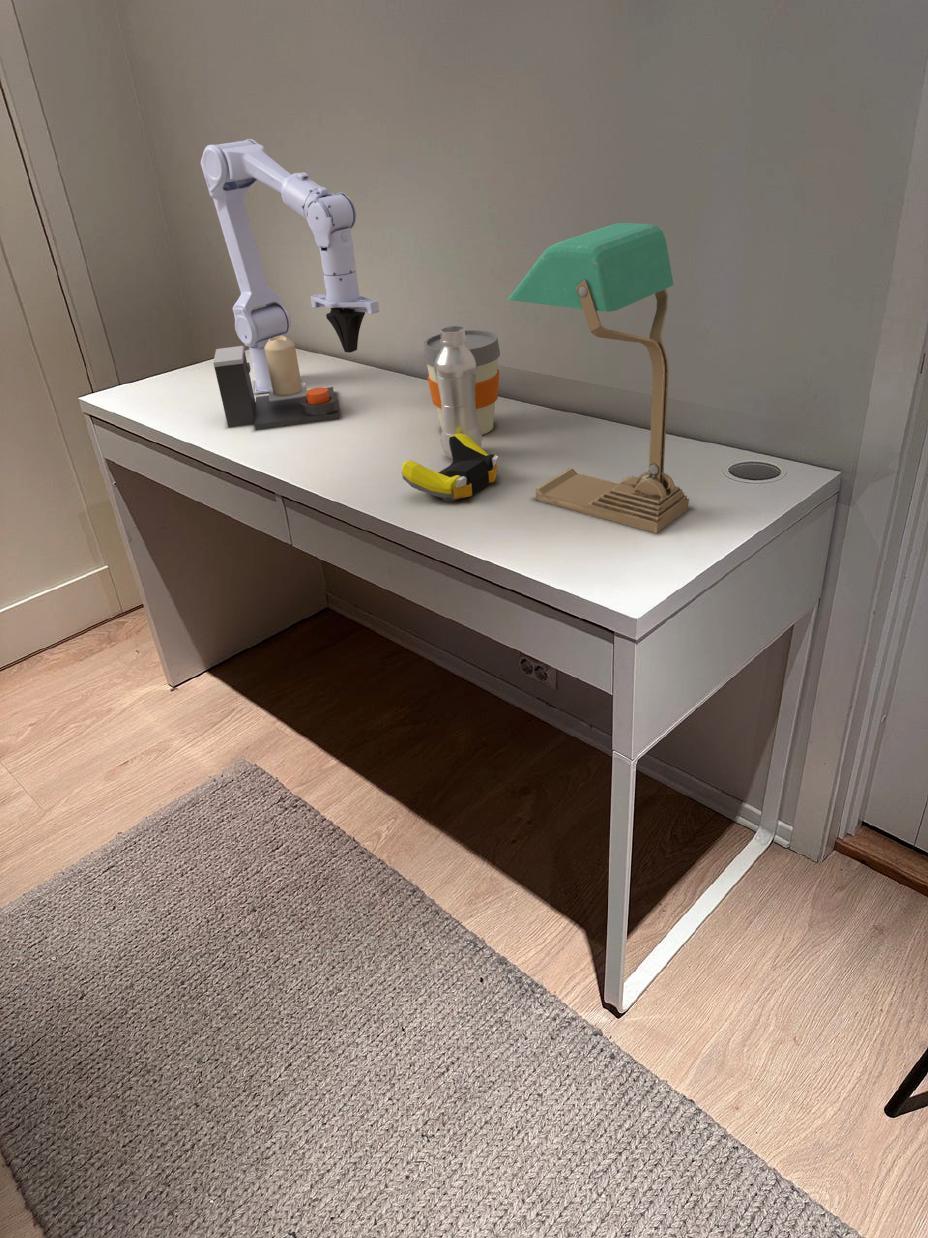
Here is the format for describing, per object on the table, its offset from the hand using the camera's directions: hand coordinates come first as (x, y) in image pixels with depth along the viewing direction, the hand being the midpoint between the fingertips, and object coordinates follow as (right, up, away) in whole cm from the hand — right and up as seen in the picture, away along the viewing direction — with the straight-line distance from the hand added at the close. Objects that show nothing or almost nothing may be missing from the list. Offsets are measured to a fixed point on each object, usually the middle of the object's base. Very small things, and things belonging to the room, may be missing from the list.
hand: (350, 350), depth 159 cm
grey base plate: (-11, -9, +6) cm, 16 cm away
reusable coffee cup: (+21, -16, -8) cm, 28 cm away
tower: (-16, -10, +6) cm, 20 cm away
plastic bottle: (+20, -23, -18) cm, 36 cm away
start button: (-6, -9, +1) cm, 11 cm away
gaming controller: (+19, -29, -28) cm, 45 cm away
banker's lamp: (+40, -33, -37) cm, 64 cm away
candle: (-13, -6, +6) cm, 15 cm away
